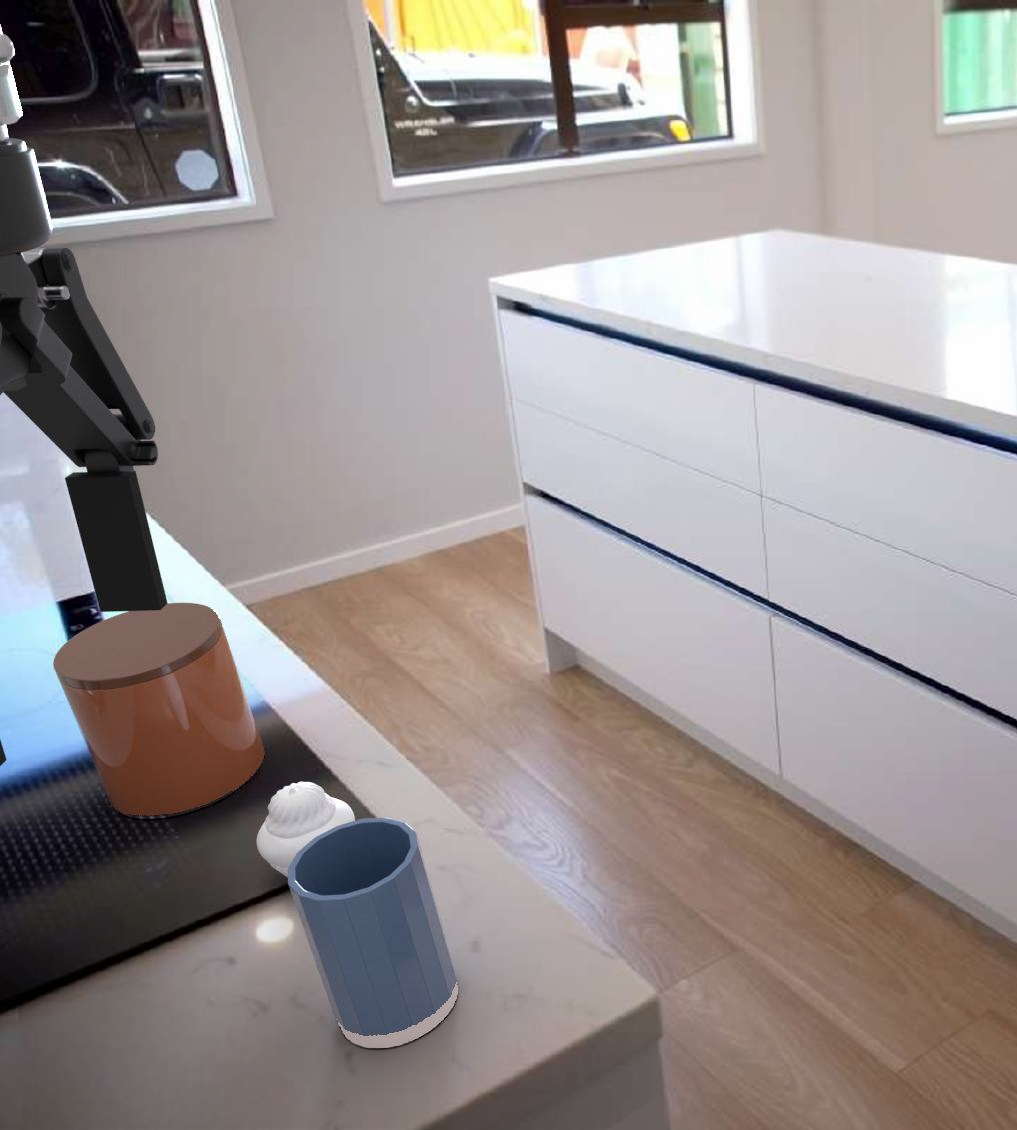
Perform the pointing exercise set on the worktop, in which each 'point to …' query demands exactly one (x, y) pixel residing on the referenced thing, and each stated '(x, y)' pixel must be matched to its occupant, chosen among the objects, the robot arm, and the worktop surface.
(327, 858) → the cup
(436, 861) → the worktop surface
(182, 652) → the canister
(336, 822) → the muffin
